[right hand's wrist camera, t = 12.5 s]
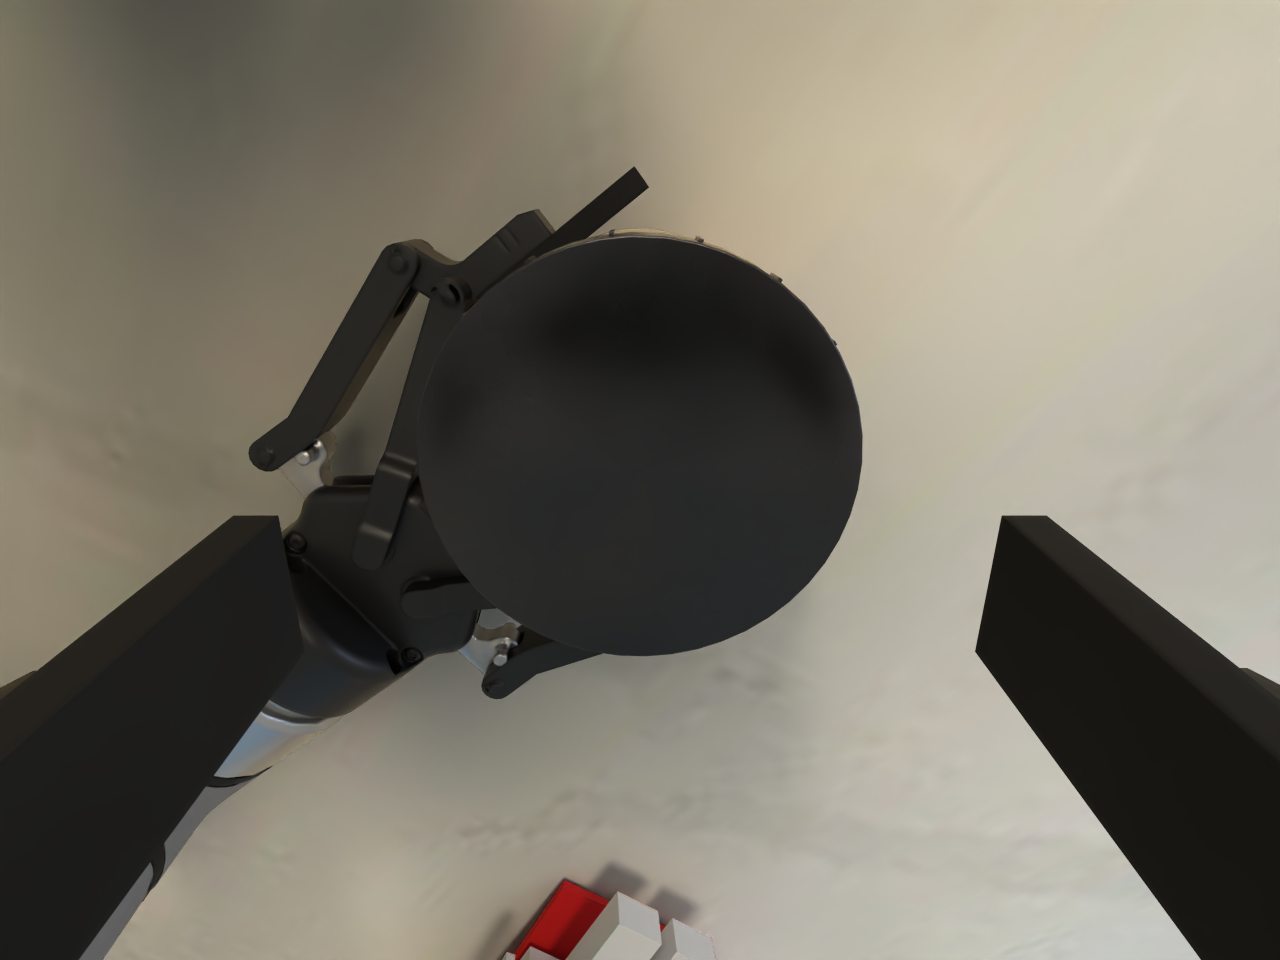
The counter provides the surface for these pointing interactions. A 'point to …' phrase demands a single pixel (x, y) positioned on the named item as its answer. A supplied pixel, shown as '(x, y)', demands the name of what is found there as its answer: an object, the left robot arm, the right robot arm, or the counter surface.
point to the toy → (607, 931)
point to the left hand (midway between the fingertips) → (736, 312)
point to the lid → (639, 444)
